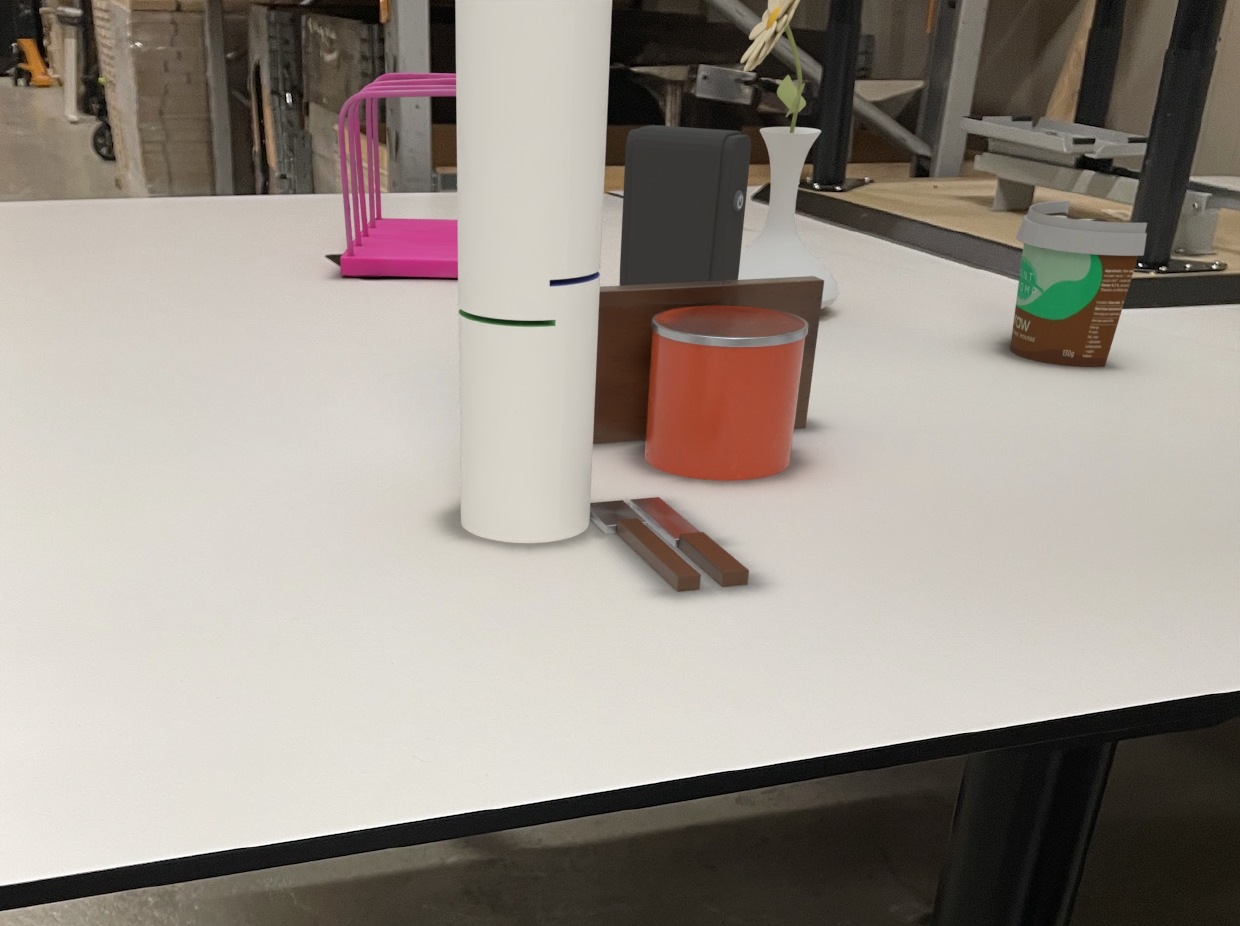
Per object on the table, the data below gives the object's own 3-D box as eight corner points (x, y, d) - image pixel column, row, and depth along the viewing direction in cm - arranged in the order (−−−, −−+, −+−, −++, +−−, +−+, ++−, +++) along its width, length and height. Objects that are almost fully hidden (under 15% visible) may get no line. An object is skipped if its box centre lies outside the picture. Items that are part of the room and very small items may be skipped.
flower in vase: (721, 295, 130) (750, -39, 115) (845, 304, 127) (892, -38, 112) (688, 323, 120) (715, -38, 105) (822, 334, 117) (870, -37, 102)
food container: (967, 339, 116) (993, 201, 110) (1036, 336, 117) (1065, 199, 111) (1040, 375, 106) (1072, 225, 100) (1115, 371, 107) (1151, 223, 101)
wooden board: (796, 423, 95) (814, 275, 90) (806, 428, 94) (825, 280, 88) (570, 439, 91) (575, 287, 86) (578, 446, 90) (583, 292, 85)
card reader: (738, 349, 112) (759, 130, 104) (715, 359, 110) (735, 135, 101) (637, 334, 116) (649, 123, 108) (613, 343, 114) (623, 127, 105)
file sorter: (340, 279, 135) (329, 85, 126) (372, 236, 156) (364, 67, 146) (521, 282, 135) (523, 88, 125) (529, 239, 155) (532, 69, 146)
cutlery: (751, 585, 71) (753, 569, 70) (666, 593, 70) (667, 578, 69) (658, 505, 81) (659, 491, 80) (582, 512, 80) (582, 497, 79)
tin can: (811, 451, 89) (829, 315, 85) (760, 490, 83) (777, 344, 78) (677, 431, 93) (687, 299, 88) (618, 467, 86) (626, 326, 82)
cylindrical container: (614, 530, 77) (644, -33, 62) (500, 552, 74) (504, -33, 59) (546, 494, 82) (560, -34, 67) (438, 513, 79) (427, -35, 64)
